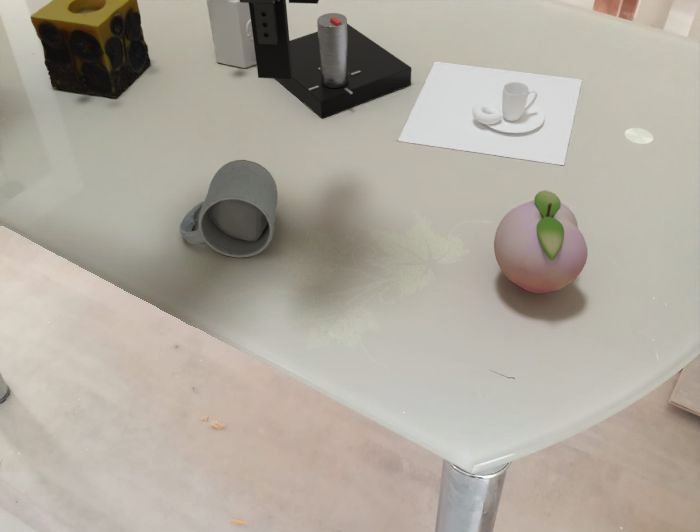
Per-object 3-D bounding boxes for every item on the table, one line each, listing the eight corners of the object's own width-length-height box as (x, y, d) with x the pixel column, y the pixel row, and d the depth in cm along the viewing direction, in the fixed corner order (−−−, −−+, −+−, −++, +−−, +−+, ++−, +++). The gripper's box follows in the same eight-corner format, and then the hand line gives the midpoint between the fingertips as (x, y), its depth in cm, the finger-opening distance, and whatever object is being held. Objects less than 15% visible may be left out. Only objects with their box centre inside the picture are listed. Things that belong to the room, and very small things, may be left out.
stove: (261, 67, 107) (259, 49, 105) (346, 38, 112) (345, 20, 110) (325, 121, 98) (324, 102, 96) (415, 87, 102) (415, 69, 100)
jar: (232, 75, 106) (218, -14, 97) (203, 52, 111) (187, -35, 102) (286, 54, 110) (278, -33, 101) (256, 33, 114) (246, -53, 105)
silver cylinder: (315, 79, 100) (311, 15, 94) (339, 70, 101) (336, 7, 95) (330, 91, 98) (327, 27, 92) (354, 82, 99) (352, 18, 93)
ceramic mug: (282, 209, 86) (274, 149, 80) (277, 257, 81) (267, 198, 75) (188, 212, 87) (173, 153, 81) (176, 260, 81) (160, 201, 75)
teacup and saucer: (467, 130, 95) (470, 100, 92) (479, 97, 100) (483, 67, 97) (539, 140, 93) (544, 110, 90) (548, 106, 98) (553, 76, 95)
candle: (51, 89, 105) (26, 17, 98) (90, 54, 111) (69, -17, 104) (116, 100, 103) (96, 27, 95) (153, 63, 109) (136, -8, 101)
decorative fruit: (481, 256, 80) (491, 176, 72) (559, 250, 80) (577, 170, 73) (499, 321, 74) (512, 241, 66) (584, 315, 74) (606, 234, 66)
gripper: (282, -225, 43) (309, 116, 59) (343, -308, 59) (351, -24, 75) (152, -224, 44) (213, 111, 60) (248, -306, 60) (276, -26, 76)
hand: (290, 36), depth 67 cm, fingers open, 13 cm apart
